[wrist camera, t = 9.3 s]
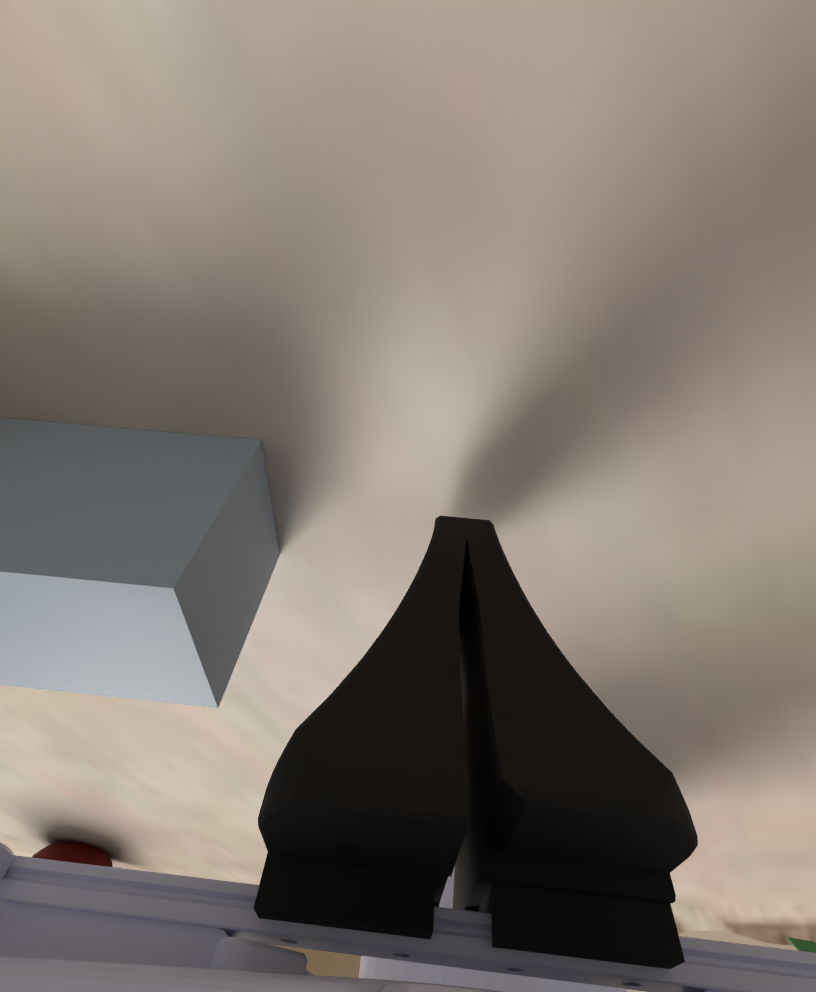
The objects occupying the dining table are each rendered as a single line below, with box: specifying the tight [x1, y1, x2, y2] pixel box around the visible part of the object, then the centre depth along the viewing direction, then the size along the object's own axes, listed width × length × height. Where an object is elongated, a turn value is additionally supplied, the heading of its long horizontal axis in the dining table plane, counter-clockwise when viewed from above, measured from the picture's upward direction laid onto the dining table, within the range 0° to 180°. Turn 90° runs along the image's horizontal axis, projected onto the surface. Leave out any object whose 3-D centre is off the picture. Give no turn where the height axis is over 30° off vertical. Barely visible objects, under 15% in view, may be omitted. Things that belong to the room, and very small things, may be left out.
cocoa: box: [32, 841, 112, 867], centre depth 31 cm, size 10×6×12 cm, turn 20°
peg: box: [0, 418, 280, 708], centre depth 12 cm, size 10×4×5 cm, turn 88°
